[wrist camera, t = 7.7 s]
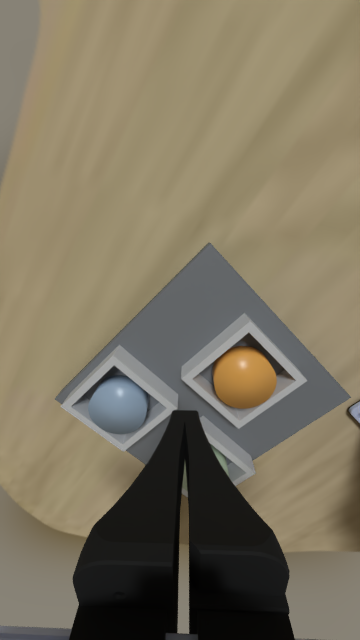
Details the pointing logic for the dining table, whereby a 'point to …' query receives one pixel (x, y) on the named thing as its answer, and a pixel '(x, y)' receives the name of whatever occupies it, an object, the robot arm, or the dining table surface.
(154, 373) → the control board
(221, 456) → the button sage
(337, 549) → the dining table surface
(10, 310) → the dining table surface
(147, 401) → the button blue
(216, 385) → the button orange
